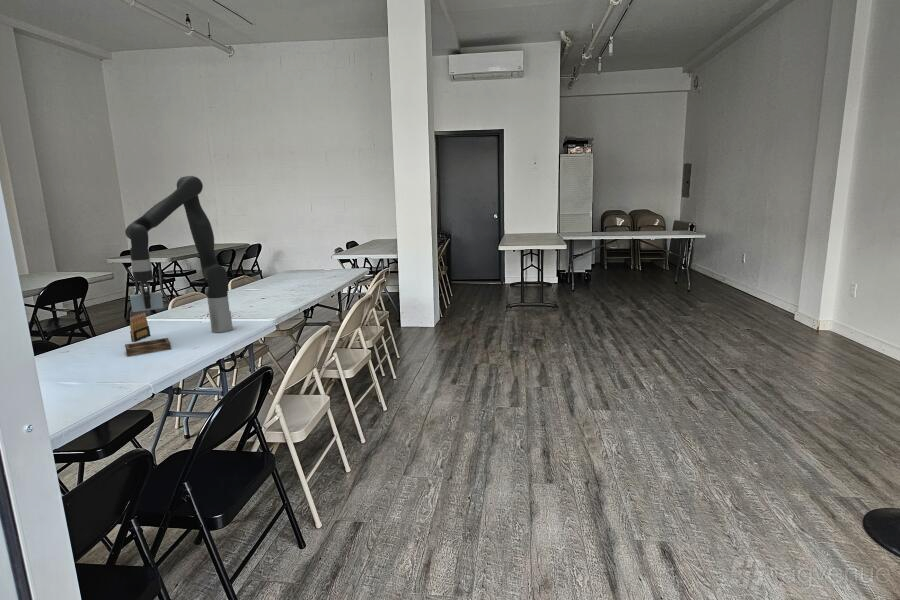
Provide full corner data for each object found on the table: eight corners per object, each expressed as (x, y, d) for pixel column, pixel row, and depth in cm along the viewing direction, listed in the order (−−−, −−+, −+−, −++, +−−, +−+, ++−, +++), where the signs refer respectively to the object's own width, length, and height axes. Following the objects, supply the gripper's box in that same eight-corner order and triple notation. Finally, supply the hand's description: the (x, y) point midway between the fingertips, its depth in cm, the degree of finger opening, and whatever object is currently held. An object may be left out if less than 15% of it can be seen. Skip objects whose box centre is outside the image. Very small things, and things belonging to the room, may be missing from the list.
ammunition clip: (135, 341, 237) (131, 316, 235) (131, 341, 237) (127, 316, 235) (150, 335, 247) (147, 311, 245) (147, 335, 248) (143, 311, 245)
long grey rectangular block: (162, 306, 233) (160, 291, 232) (163, 308, 230) (161, 292, 229) (132, 310, 226) (129, 295, 225) (132, 312, 223) (130, 296, 222)
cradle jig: (168, 344, 231) (167, 337, 230) (171, 349, 223) (170, 342, 222) (126, 351, 221) (124, 344, 221) (127, 356, 214) (126, 349, 213)
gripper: (153, 270, 221) (158, 309, 224) (150, 267, 232) (155, 304, 236) (133, 272, 217) (139, 311, 220) (131, 269, 228) (137, 306, 232)
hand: (147, 307), depth 228 cm, fingers closed on long grey rectangular block, 4 cm apart
